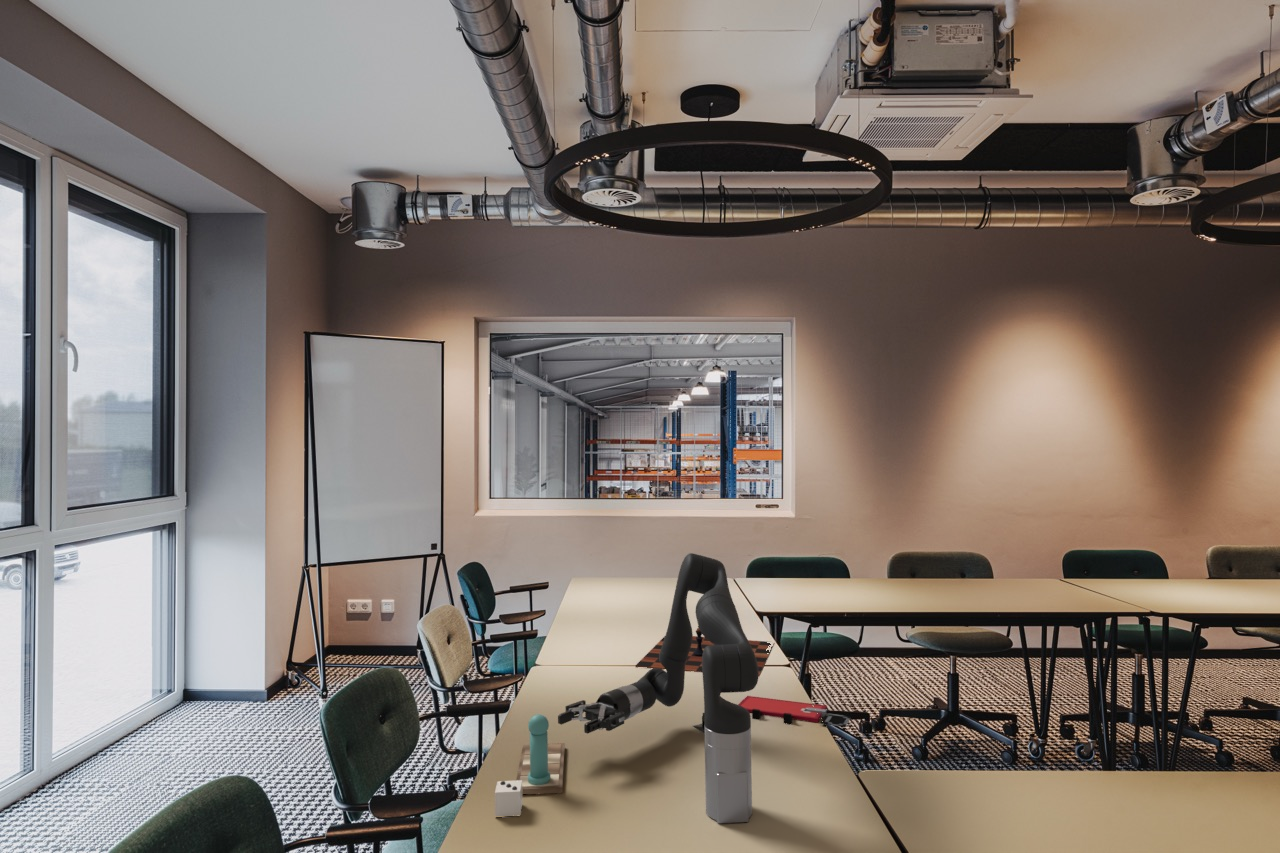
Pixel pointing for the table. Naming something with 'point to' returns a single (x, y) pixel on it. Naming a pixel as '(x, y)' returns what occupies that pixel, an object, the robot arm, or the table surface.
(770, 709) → the red board with handle
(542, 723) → the pawn
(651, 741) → the table surface
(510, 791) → the die
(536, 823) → the table surface
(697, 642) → the chessboard
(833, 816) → the table surface
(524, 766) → the board
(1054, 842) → the table surface
